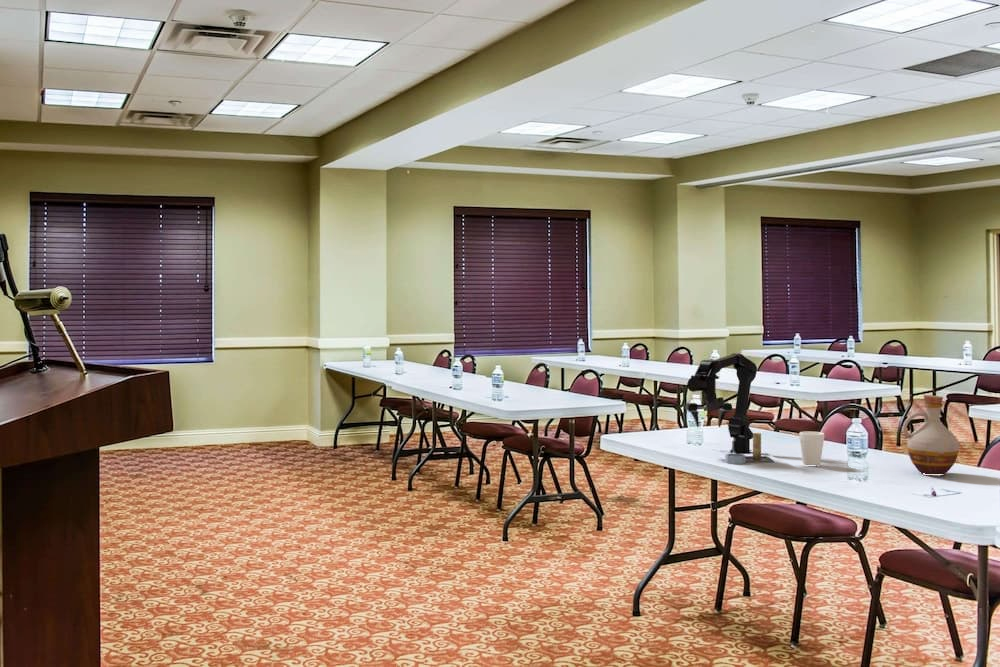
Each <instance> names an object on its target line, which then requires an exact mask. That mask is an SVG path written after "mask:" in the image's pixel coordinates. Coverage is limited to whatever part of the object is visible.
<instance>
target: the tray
mask: <svg viewBox="0 0 1000 667" xmlns="http://www.w3.org/2000/svg"><path fill="white" fill-rule="evenodd" d="M747 463H749V464H757V463H759V464H760V463H762V464H764V463H765V464H766V463H771V464H773V463H775V461H774V459H772V458H771V457H769V456H768V455H763V456H762V455H761V460H753V455H752V456H751V455H749V456H748V455H747V456H746V455H745V464H747Z"/></svg>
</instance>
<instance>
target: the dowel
mask: <svg viewBox="0 0 1000 667" xmlns="http://www.w3.org/2000/svg"><path fill="white" fill-rule="evenodd" d="M752 433H753V439H752V456H753V460H761V456H762V433H761V432H752Z"/></svg>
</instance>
